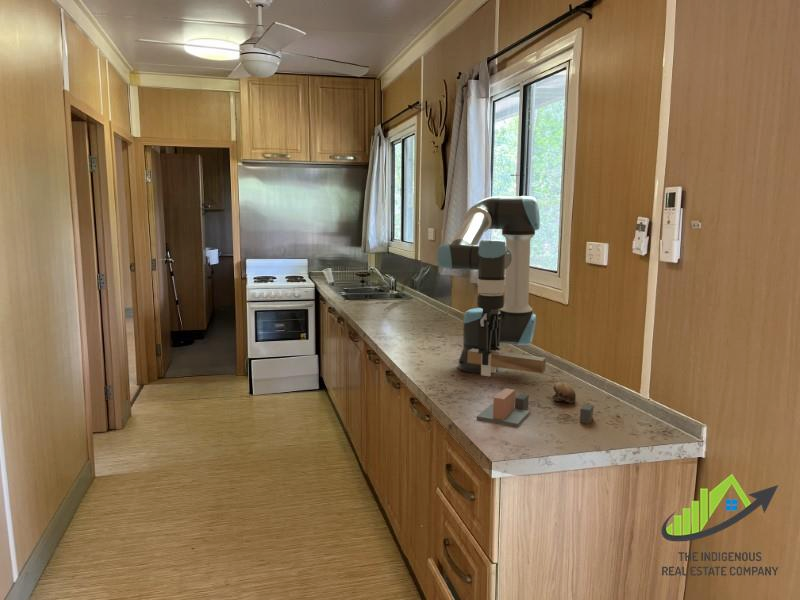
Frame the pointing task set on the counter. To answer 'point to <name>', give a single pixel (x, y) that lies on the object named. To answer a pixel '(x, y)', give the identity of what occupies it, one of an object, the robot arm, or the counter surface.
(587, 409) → the grey blocks
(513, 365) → the rod
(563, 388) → the mushroom
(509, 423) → the fulcrum
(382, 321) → the counter surface
